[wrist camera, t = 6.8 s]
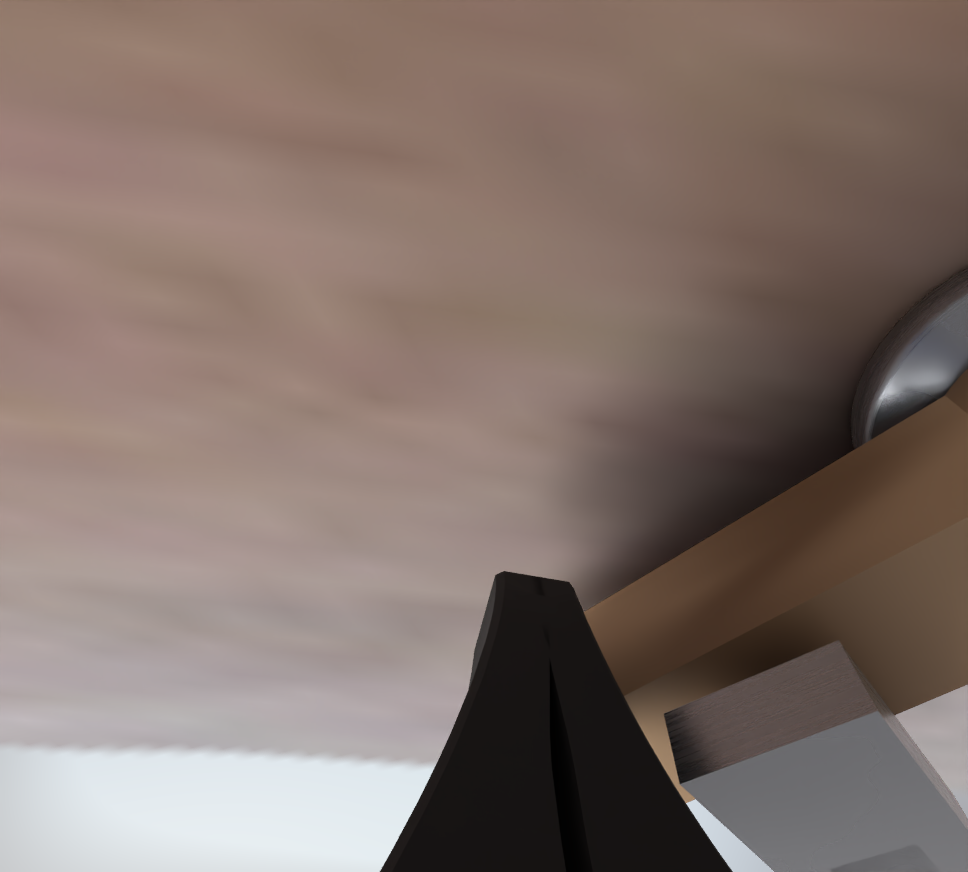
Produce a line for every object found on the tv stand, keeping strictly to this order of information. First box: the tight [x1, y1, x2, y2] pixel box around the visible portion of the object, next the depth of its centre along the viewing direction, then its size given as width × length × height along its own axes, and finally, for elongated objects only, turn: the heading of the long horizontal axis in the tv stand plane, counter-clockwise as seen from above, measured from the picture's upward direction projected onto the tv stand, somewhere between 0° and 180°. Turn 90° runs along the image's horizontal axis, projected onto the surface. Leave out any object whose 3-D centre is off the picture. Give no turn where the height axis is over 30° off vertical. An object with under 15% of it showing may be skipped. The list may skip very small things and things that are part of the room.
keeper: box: [664, 640, 968, 872], centre depth 10 cm, size 2×4×5 cm, turn 39°
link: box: [584, 369, 968, 803], centre depth 9 cm, size 11×4×4 cm, turn 134°
